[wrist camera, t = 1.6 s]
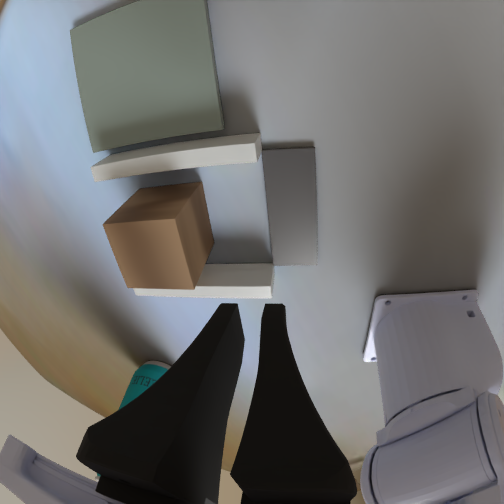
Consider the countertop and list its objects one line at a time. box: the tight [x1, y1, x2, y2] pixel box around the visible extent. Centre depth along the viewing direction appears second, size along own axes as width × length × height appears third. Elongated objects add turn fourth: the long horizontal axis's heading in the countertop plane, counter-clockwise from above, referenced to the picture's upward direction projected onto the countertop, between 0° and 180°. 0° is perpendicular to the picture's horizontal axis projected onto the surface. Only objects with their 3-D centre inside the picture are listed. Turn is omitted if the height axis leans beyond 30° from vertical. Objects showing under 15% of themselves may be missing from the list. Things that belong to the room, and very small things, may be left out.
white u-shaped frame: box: [91, 133, 317, 298], centre depth 19 cm, size 13×10×2 cm
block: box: [103, 182, 214, 290], centre depth 18 cm, size 4×4×5 cm
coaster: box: [70, 0, 225, 153], centre depth 15 cm, size 9×9×1 cm
